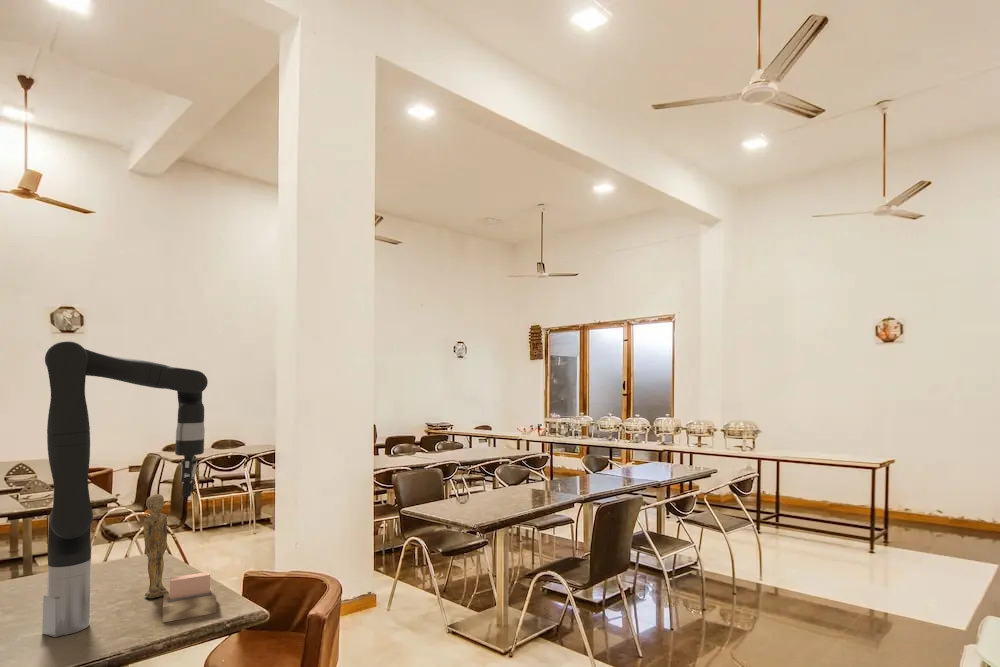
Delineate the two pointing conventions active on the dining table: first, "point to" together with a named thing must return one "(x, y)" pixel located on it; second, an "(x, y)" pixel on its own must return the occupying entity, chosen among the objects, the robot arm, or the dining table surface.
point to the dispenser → (189, 606)
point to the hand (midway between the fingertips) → (187, 494)
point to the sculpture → (155, 544)
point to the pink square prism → (189, 585)
